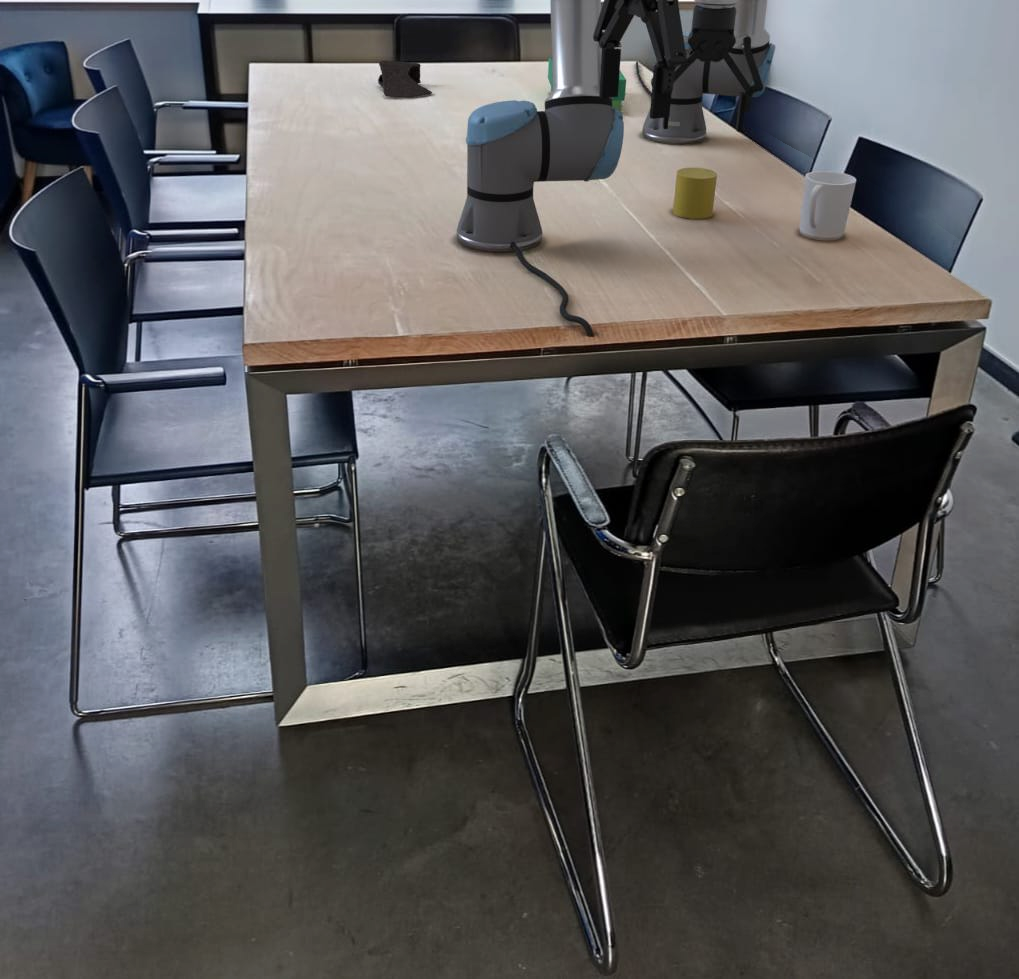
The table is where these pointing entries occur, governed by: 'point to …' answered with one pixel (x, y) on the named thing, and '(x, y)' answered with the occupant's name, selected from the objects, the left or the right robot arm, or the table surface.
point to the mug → (826, 204)
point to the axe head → (401, 79)
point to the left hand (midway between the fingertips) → (633, 107)
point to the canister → (694, 193)
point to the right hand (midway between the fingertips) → (701, 129)
